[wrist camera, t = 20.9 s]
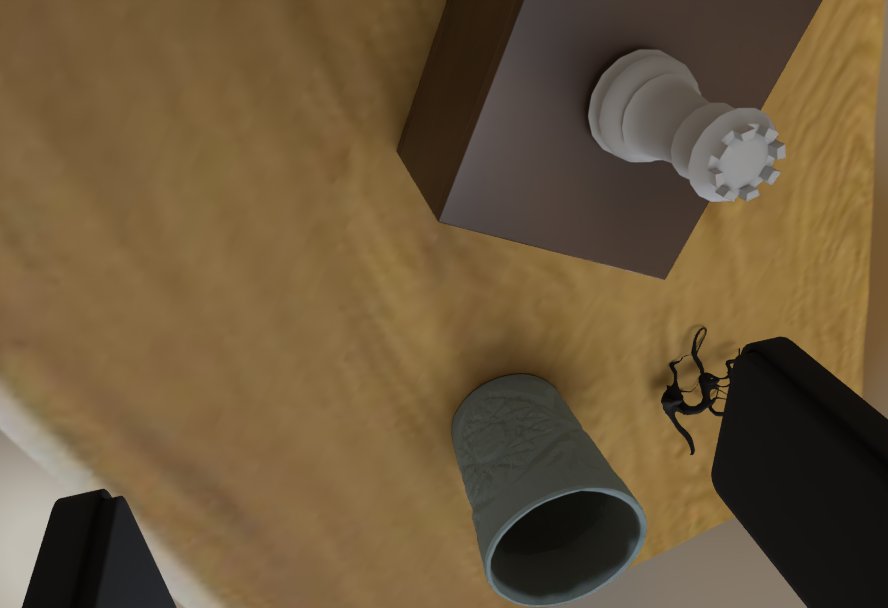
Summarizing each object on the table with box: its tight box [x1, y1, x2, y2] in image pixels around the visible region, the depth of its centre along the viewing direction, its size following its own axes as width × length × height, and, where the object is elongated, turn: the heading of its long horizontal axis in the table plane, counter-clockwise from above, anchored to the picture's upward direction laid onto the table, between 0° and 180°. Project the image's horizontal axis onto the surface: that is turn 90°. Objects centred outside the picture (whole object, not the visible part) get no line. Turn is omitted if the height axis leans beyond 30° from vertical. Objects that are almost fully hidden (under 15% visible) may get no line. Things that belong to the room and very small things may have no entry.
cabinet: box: [397, 0, 822, 280], centre depth 32 cm, size 15×13×10 cm
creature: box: [661, 328, 740, 455], centre depth 50 cm, size 8×5×8 cm
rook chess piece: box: [588, 50, 785, 202], centre depth 25 cm, size 4×4×8 cm
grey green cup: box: [452, 374, 647, 607], centre depth 44 cm, size 10×10×12 cm
